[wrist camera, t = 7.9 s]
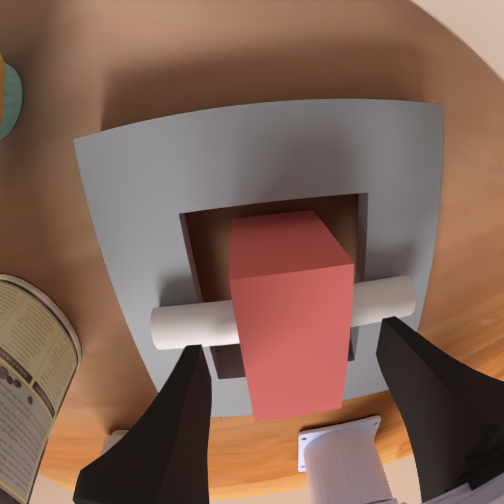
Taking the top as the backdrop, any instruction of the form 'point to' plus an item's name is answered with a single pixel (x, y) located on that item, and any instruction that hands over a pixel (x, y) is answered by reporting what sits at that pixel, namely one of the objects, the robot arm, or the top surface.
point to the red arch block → (291, 312)
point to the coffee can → (30, 381)
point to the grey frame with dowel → (259, 191)
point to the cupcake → (9, 97)
